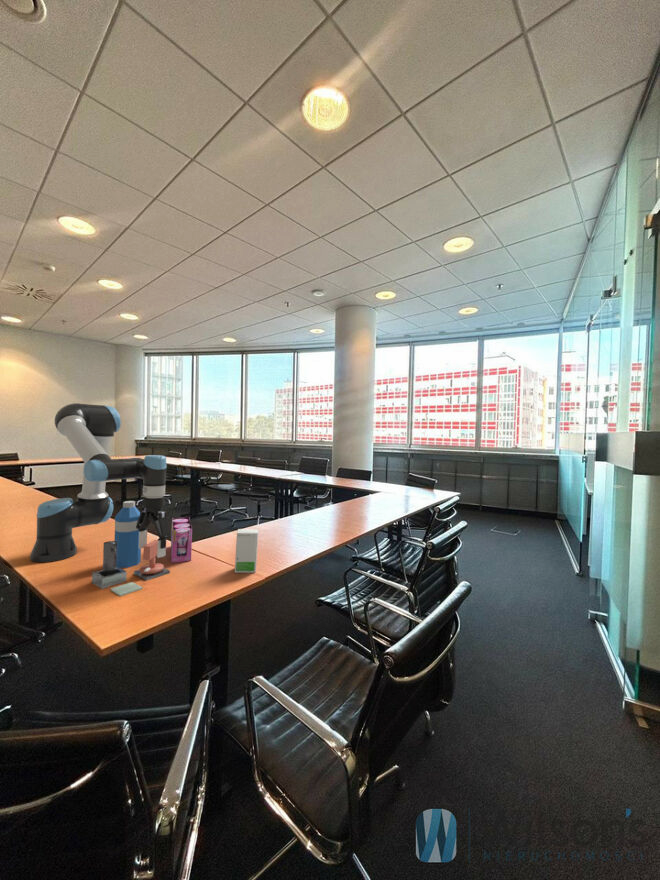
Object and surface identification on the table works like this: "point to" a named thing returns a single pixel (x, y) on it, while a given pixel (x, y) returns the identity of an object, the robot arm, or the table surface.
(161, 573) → the wheel base
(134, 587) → the mat
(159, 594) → the table surface
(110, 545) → the hook peg
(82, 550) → the table surface
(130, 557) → the water bottle
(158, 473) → the robot arm
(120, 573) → the block
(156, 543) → the pink block-head stand
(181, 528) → the gum box
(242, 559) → the skincare box
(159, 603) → the table surface
